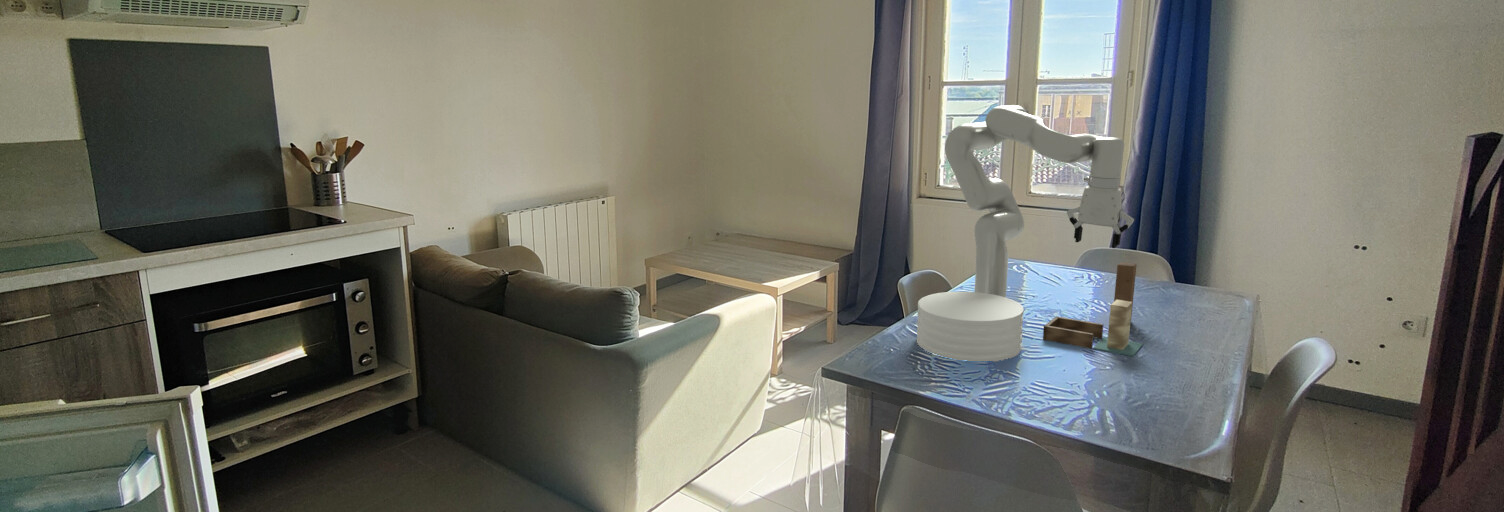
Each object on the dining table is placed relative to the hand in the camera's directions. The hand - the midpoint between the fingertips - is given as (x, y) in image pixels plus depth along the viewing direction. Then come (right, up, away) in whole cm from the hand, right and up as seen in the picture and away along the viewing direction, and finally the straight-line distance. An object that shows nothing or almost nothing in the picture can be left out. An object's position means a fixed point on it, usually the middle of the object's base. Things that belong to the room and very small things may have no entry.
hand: (1096, 244), depth 216 cm
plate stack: (-35, -28, +1) cm, 45 cm away
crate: (-5, -27, +4) cm, 27 cm away
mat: (+5, -28, -4) cm, 29 cm away
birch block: (+4, -28, -4) cm, 28 cm away
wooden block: (+14, -24, +15) cm, 31 cm away
